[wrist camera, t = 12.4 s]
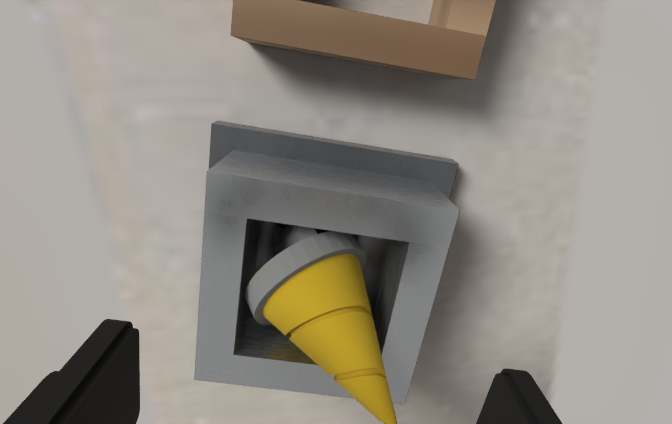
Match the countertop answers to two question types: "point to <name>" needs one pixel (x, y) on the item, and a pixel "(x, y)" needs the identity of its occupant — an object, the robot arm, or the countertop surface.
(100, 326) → the robot arm
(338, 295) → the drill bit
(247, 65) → the countertop surface
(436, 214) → the grey hollow square block
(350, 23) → the socket block
